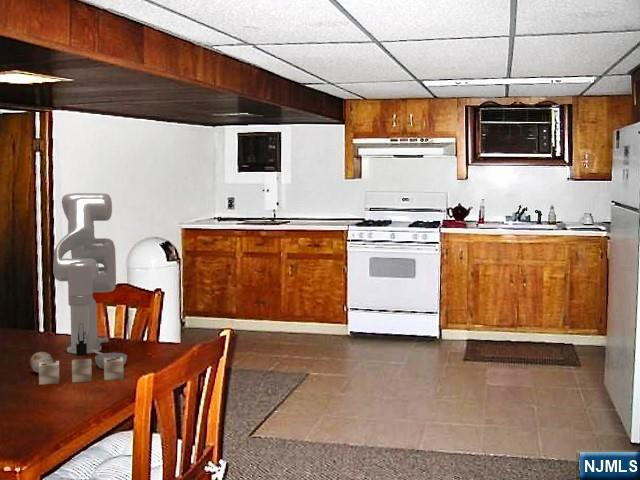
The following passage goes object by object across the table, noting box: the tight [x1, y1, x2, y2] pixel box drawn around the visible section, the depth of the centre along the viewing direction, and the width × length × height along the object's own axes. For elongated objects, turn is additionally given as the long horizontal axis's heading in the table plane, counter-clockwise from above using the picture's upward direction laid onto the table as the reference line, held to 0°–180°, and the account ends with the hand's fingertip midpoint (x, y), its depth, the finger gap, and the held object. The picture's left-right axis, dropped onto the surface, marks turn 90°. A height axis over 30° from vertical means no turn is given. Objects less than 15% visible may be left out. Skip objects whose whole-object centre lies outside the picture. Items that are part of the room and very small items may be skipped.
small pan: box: [91, 350, 128, 370], centre depth 270 cm, size 11×18×4 cm, turn 47°
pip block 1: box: [38, 360, 60, 386], centre depth 247 cm, size 6×6×6 cm
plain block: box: [71, 358, 93, 383], centre depth 250 cm, size 6×6×6 cm
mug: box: [29, 351, 54, 374], centre depth 256 cm, size 8×10×10 cm
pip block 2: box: [103, 357, 125, 381], centre depth 252 cm, size 6×6×6 cm
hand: (81, 355), depth 250 cm, fingers closed
